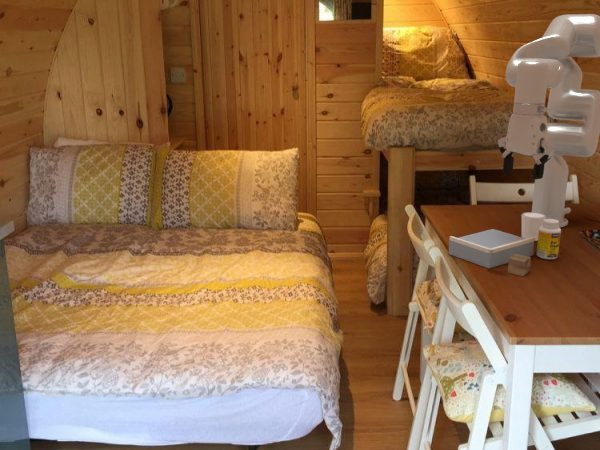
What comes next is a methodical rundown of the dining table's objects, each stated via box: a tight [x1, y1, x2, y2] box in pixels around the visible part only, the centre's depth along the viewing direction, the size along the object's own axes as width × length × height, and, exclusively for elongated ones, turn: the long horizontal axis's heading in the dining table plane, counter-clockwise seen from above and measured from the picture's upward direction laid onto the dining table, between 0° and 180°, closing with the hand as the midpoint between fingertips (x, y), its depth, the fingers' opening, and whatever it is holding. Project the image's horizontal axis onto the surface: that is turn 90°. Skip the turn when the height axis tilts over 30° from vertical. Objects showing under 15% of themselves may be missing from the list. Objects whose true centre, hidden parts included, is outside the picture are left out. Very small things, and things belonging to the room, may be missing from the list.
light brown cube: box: [507, 254, 532, 277], centre depth 162 cm, size 4×4×4 cm
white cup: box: [521, 211, 546, 242], centre depth 189 cm, size 7×7×7 cm
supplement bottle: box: [536, 219, 562, 260], centre depth 172 cm, size 6×6×10 cm
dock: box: [448, 228, 535, 269], centre depth 175 cm, size 18×14×5 cm
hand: (522, 175), depth 169 cm, fingers open, 9 cm apart
